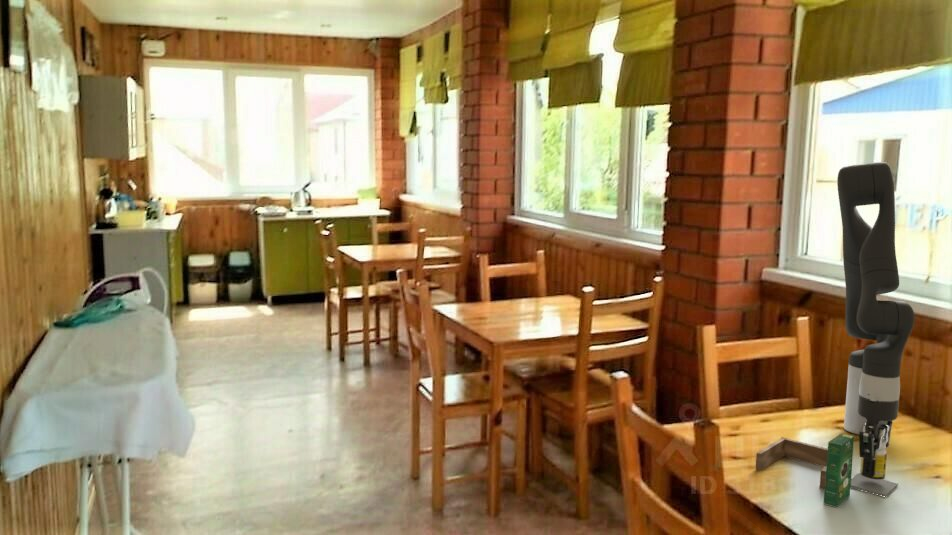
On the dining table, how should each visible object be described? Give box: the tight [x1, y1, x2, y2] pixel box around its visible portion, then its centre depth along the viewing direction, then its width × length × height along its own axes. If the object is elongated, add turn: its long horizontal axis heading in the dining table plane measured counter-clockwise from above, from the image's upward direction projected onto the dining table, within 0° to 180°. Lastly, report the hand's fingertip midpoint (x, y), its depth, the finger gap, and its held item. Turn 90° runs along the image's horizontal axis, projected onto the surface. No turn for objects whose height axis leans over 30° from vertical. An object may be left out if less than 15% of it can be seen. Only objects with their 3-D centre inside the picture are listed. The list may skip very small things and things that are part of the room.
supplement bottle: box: [859, 440, 888, 482], centre depth 165 cm, size 5×5×8 cm
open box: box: [755, 436, 828, 491], centre depth 173 cm, size 14×15×4 cm
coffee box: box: [823, 433, 855, 508], centre depth 158 cm, size 8×3×13 cm, turn 136°
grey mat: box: [850, 472, 899, 498], centre depth 165 cm, size 8×8×1 cm
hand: (872, 471), depth 165 cm, fingers closed on supplement bottle, 4 cm apart
